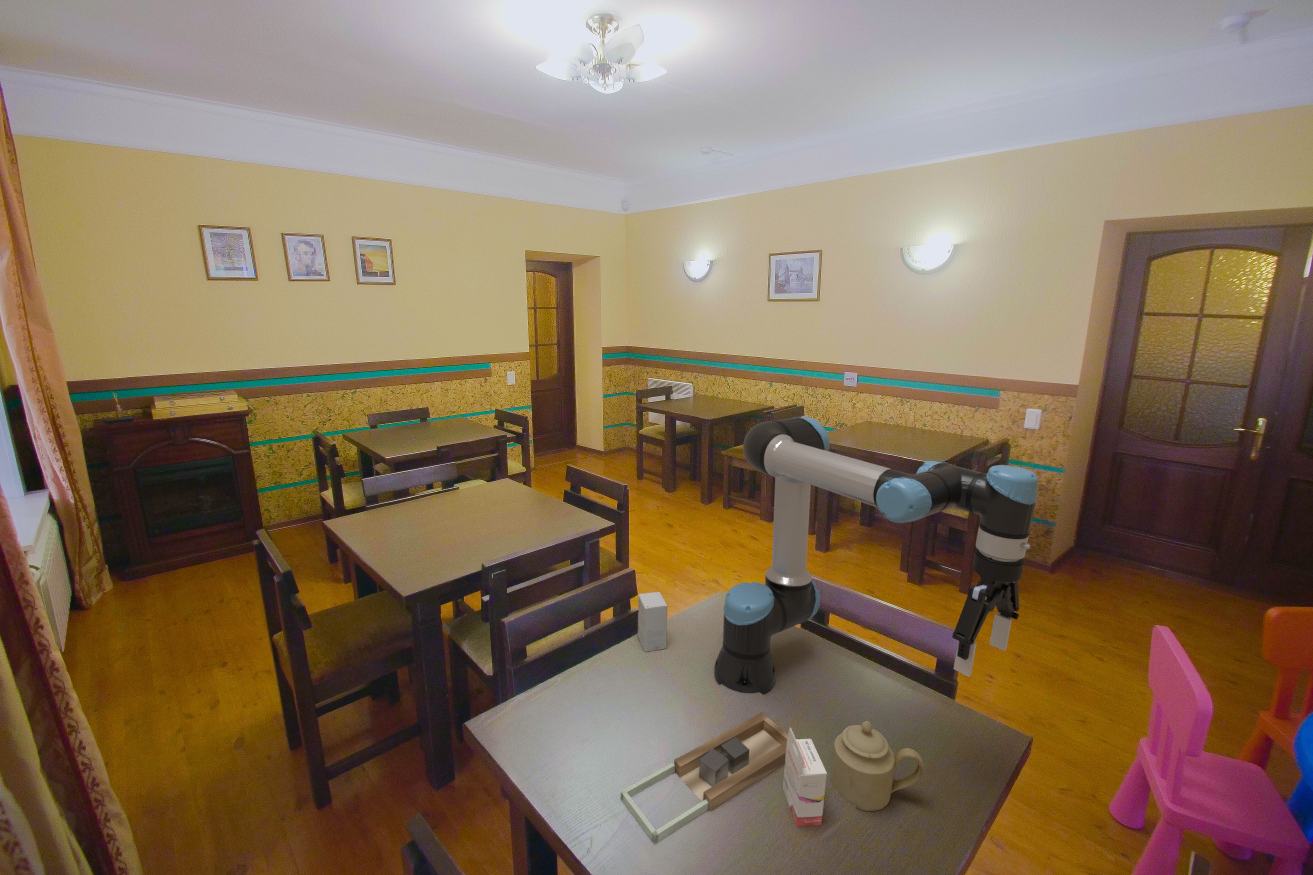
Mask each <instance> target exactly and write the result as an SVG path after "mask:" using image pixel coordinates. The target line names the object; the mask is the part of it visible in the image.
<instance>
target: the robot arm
mask: <svg viewBox="0 0 1313 875" xmlns="http://www.w3.org/2000/svg"><path fill="white" fill-rule="evenodd" d="M742 444H743V445H742V451H743V456H744V458H745V460H746V462H747V463H748V464H749V465H750V466H751V467H752V468H753V469H754V470H756V471H758V472H760V473H763V474H765V475H768V476H771V477H774V478H775V481H774V482H775V483H774V502H773V504H774V505H773V506H774V507H773V508H774V509H773V529H772V530H773V531H772V550H771V551H772V553H771V554H772V555H771V556H772V557H771V566H770V567H769V568H768V569H766V571H765V574H764V577H765V578H764V579H765V580H764V583H761V582H756V581H755V582H754V581H752V582H748V581H746V582H741V583H738V584H736V585H734V586H732V587H731V588H729V590H728V591H727V593H726V594H725V598H724V600H725V601H724V605H723V632H722V646H721V648H720V650H719V653H718V655H717V657H716V661H715V663H714V670H713V672H714V673H713V675H714V679H715V681H716V682H717V683H718V685H719V686H720V685H723V687H725V688H727V689H729V690H731V691H734V692H737V693H742V694H759V693H760V694H761V695H764V694H766V693H768V692H769V691H771V689H773V687H774V686H775V681H776V669H775V666H774V663H773V658H772V655H771V652H770V651H771V639H772V636H773V635H776V634H778V633H781V632H784V631H785V630H788V629H790V628H793V627H795V626H797V625H801V624H804V623H806V622H807V621H808V620H810V619H812V618H813V617H814V616H815V615H816V614H817V613H818V611H819V608H820V604H821V595H820V594H821V593H820V590H819V589H817V586H818V585H817V583H816V582H815V581H814V579H813V576H812V574H811V573H810V572H809V571H808V570H807V561H808V542H809V541H808V540H809V525H810V524H809V523H810V508H811V507H810V503H811V489H812V488H811V486H815V487H817V488H819V489H823V490H826V491H828V492H832V493H835V494H837V495H840V496H843V497H845V498H849V499H852V500H855V501H858V502H860V503H863V504H866V505H869V506H873V507H875V508H877V509H878V511H879V513H880V514H882V515H883V516H884V518H886V519H887V520H888V521H891V522H893V523H896V524H904V523H912V522H916V521H918V520H921V519H923V518H925V517H928V516H931V515H934V514H937V513H941V512H944V511H946V510H949V509H952V508H954V509H959V510H962V511H965V512H967V513H970V514H971V513H972V514H973V515H974V514H975V515H978V516H979V517H980V520H979V525H978V530H977V534H976V541H975V548H976V549H975V550H974V556H973V561H972V569H973V571H974V572H975V573H976V574H977V575H978V576H979V577H980V579H979V581H978V582H977V583H976V585H973V584H971V585H970V586H969V587H968V591H967V597H966V600H965V602H964V605H963V606H962V607H963V608H962V610H961V613H960V615H959V617H958V620H957V623H956V625H955V628H954V631H953V632H952V639H954V640H956V641H957V645H956V646H957V647H956V652H955V657H954V658H955V659H954V663H953V670H955V671H957V672H959V673H961V674H962V675H964V676H966V677H968V678H969V677H971V676H972V673H973V672H972V671H973V665H974V661H975V654H976V650H977V644H978V643H977V642H976V639H977V637H978V635H979V633H980V631H981V629H982V626H983V625H984V623H985V621H986V619H987V617H988V615H989V613H990V612H991V613H992V612H993V611H994V610H995V608H996V610H997V612H996V613H995V614H994V616H993V617H994V618H993V623H992V628H991V629H992V630H991V634H990V640H989V645H990V646H993V647H995V648H997V649H999V650H1001V651H1003V652H1005V651H1006V650H1007V647H1008V643H1009V637H1010V632H1011V631H1010V630H1011V627H1012V626H1011V625H1012V620H1013V619H1014V620H1016V621H1017V620H1018V619H1019V616H1020V614H1019V613H1017V612H1019V610H1020V598H1019V583H1018V582H1019V581H1020V580H1021V579H1022V576H1023V570H1024V565H1025V560H1024V558H1025V557H1026V552H1027V550H1029V549H1031V544H1029V542H1028V541H1029V539H1030V538H1029V536H1030V534H1031V533H1030V532H1031V526H1032V522H1033V518H1034V517H1033V516H1034V512H1035V508H1036V503H1037V502H1038V497H1037V496H1038V487H1039V477H1038V474H1036V473H1035V472H1033V471H1032V470H1030V469H1027V468H1024V467H1019V466H1011V465H1007V464H998V465H993V466H991V467H990V468H988V471H987V473H985V472H981V471H977V470H973V469H969V468H965V467H961V466H957V465H954V464H951V463H948V462H945V461H943V462H940V461H935V460H928V461H926V462H924V463H922V465H921V466H920V467H919V468H918V469H917V471H916V473H914V474H912V473H907V472H904V471H900V470H897V469H896V470H895V469H892V468H890V467H886V466H883V465H879V464H875V463H872V462H871V463H870V462H867V461H864V460H861V459H857V458H853V457H849V456H846V455H842V454H839V453H835V452H832V451H829V450H830V439H829V435H828V432H827V430H826V429H825V427H823V425H822V423H820V422H819V421H818V420H816V419H814V418H812V417H808V416H793V417H787V418H781V419H775V420H767V421H762V422H759V423H757V424H756V425H754V426H752V427H751V428H750V429H749V431H748V432H747V433H746V435H745V437H744V439H743V443H742Z"/></svg>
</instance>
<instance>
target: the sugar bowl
mask: <svg viewBox="0 0 1313 875" xmlns="http://www.w3.org/2000/svg"><path fill="white" fill-rule="evenodd" d="M905 758H912V759H914V760H915V761H916V762H917V768H916V769H915V771H913V773H912V774H910V775H908V776H906V777H904V778H901V779H896V780H894V776H895V773H896V770H897V769H898V767H899V765H900V762H901V761H902V760H903V759H905ZM924 768H925V766H924V762H923V758H922V756H921V755H920V754H919V752H917V751H916V750H915V749H913V748H910V747H904V748H902V749H900V750H899V751H897V753H896V754H894V752H893V750H892V748H891V747H890V746H889V743H888V741H887V738H886V737H885V736H884V735H883V734H882V733H881V732H880V731H878V730H876V729H874V728H873V726H872V723H871V722H870V721H869V720H865V721H863V722H862V723H861V724H853V725H848V726H847V727H845V728H844V729H843V730H842V732H841V733H839V734H838V735H837V736H836V737H835V740H834V744H833V751H832V761H831V774H830V775H831V776H830V777H831V778H830V779H831V783H832V784H833V787H834V788H835V790H836V792H838V794H840V796H842V797H843V798H844V799H845V800H847V801H848V802H850V803H852V804H854V805H857V806H856V807H855V809H856V810H861V811H866V812H876V811H880V810H882V809H884V808H885V807H887V805H888V804H889V802H890V799H891V794H892V793H895V792H896V791H898V790H903V789H905V788H908V787H912V786H913V785H914V784H916V783H917V782H918V781H919V780H920V779H921V777H922V775H923V772H924Z"/></svg>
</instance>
